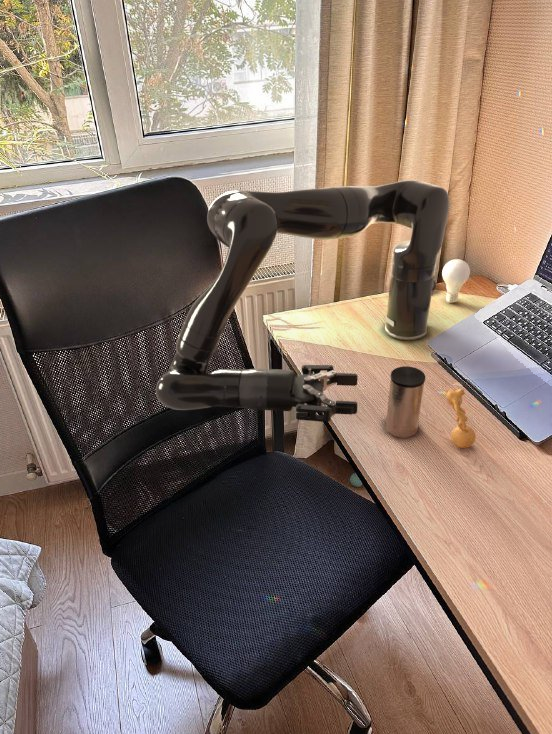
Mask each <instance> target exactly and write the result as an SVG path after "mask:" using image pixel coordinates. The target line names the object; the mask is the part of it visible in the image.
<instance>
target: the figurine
mask: <svg viewBox="0 0 552 734" xmlns="http://www.w3.org/2000/svg"><path fill="white" fill-rule="evenodd" d="M465 393H466V392H465V390H464V389H463V388H458V389H456V390H454V389H453V388H449V391H448V392H447V393H446V395H445V398H446V401H447V403H448V404H449V406H451V409H452V410H453V411H454V412H455V415H456V419H455V420H456V423H457V426H456V427H454V428H453V430H452V431H451V434H450V435H451V437H450V438H451V441H452V443H453V444H454V445H455V446H456V447H458V448H461V449H465V448H469V447H471V446H472V445H474V444H475V441H476V437H477V435H476V431H475V430H474V428H472V427H471V426H470V425H467V423H466V422H467V421H468V416H466V410H465V409H464V408H463V407H461V405H462V403H463V396H464V395H465Z"/></svg>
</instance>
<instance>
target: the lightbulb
mask: <svg viewBox="0 0 552 734" xmlns="http://www.w3.org/2000/svg"><path fill="white" fill-rule="evenodd" d="M470 275H471V268H470V266H469V264H468V263H467V262H466V261H465V260H463V259H460V258H459V259H458V258H454V259H451V260H449V261H447V262H446V263H445V265H444V266H443V268H442V272H441V277H442V279H443V281H444V283H445V287H446V289H445V290H446V296H445V301H447V302H448V303H450V304H453V303H456V302H457V301H458V297H459V292H460V291H461V289H462V287H463V285H464V284H465V283H466V282H468V280H469V279H470Z"/></svg>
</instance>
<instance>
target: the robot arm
mask: <svg viewBox="0 0 552 734" xmlns="http://www.w3.org/2000/svg"><path fill="white" fill-rule="evenodd" d="M449 213H450V196H449V192H448V191H447V190H446V189H445V188H443V187H441V186H439V185H435V184H432V183H428V182H425V181H422V180H418V179H405V180H400V181H396V182H391V183H386V184H382V185H375V186H373V185H372V186H371V185H343V186H329V187H328V186H327V187H320V188H309V189H308V188H307V189H298V190H291V191H280V192H279V191H277V192H276V191H275V192H273V191H272V192H271V191H254V190H242V189H241V190H240V189H239V190H238V189H237V190H230V191H227V192H225V193H223V194H221V195H220V196H218V197H217V198H216V199H215V200H214V201H212V203H211V205H210V206H209V208H208V211H207V215H206V222H207V226H208V228H209V231H210V232H211V234H212V235H213V236H214V237H215V238H216V240H218V241H219V242H220V243H221V244H223V245H224V246H225V247H227V249H228V250H227V253H226V255H225V259H224V263H223V265H222V268H221V269H220V272H219V273H218V275H217V276H216V278H215V279H214V280H213V282H212V283H211V284H210V285H209V286H208V287H207V288H206V289H205V290H204V291H203V292H202V293H201V294H200V295H199V297H197V299H196V300H195V301H194V302H193V303H192V304H191V307H190V308H189V310H188V312H187V314H186V316H185V318H184V321H183V323H182V326H181V329H180V331H179V333H178V337H177V339H176V343H175V354H174V356H173V360H172V362H171V363H170V366H169V368H168V370H167V371H166V372H165V373H163V375H161V377H160V378H159V379H158V381H157V383H156V385H155V395H156V397H157V399H158V401H159V402H160V404H162V405H163V406H165V407H166V408H168V409H171V410H174V411H175V410H176V411H191V410H193V411H194V410H201V409H208V408H214V407H222V408H239V409H240V408H241V409H248V410H253V411H271V412H272V411H273V412H274V411H275V412H292V411H293V408H295V419H296V420H299V421H308V422H319V423H320V422H322V423H331V418H332V417H334V416H335V415H356V414H357V413H358V402H357V401H356V400H355V401H354V400H353V401H352V400H333V399H331V398H328V397H327V395H326V394H325V393H324V392H325V391H326V390H327V389H328V388H329V387H332V386H334V385H336V386H344V387H345V386H348V387H356V386H357V385H358V380H359V379H358V378H359V377H358V374H356V373H350V372H347V373H345V372H337V371H336V370H335V369H334V367H335V366H334V365H332V364H302V365H301V373H300V375H295V372H294V370H292V369H278V368H277V369H276V368H275V369H274V368H249V369H239V368H237V369H236V368H219V369H216V370H213V371H211V372H209V373H207V372H208V367H209V365H210V360H211V359H212V358H213V355H214V353H215V351H216V348H217V347H218V344H219V341H220V339H221V336H222V335H223V332H224V330H225V327H226V324H227V323H228V321H229V319H230V316H231V314H232V312H233V311H234V309H235V308H236V306H237V303H238V302H239V300H240V299H241V297H242V296H243V294H244V293H245V291H246V289H247V288H248V286H249V285H250V283H251V281H252V279H253V278H254V276H255V275H256V273H257V272H258V269H259V268H260V266H261V265H262V263H263V262H264V260H265V259H266V257H267V256H268V253H269V252H270V250H271V248H272V247H273V244H274V242H275V240H276V238H277V235H278V234H279V235H287V236H294V237H299V238H304V239H311V240H321V241H322V240H324V241H325V240H326V241H328V240H339V239H345V238H352V237H355V236H357V235H359V234H361V233H363V232H364V231H365V230H366V229H367V228H368V227H370V226H371V225H374V224H395V225H399V226H402V227H404V228H407V229H409V230H411V236H410V239H409V240H404V241H400V242H398V243H397V244H395V246H393V249H392V254H391V265H390V266H391V267H390V275H389V276H390V277H389V286H388V287H389V288H388V298H387V309H386V315H384V316H385V317H384V322H385V325H384V331H385V333H386V335H388V336H389V337H391V338H393V339H396V340H400V341H416V340H420V339H422V338H424V337H425V336H426V335H427V332H428V323H429V317H430V309H431V302H432V296H433V292H434V291H435V290H436V287H437V284H436V281H435V273H436V266H437V260H438V256H439V253H440V251H441V248H442V247H443V242H444V237H445V234H446V233H445V232H446V227H447V223H448V218H449ZM325 371H326V372H325ZM317 413H321V414H317Z"/></svg>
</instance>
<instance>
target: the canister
mask: <svg viewBox="0 0 552 734" xmlns="http://www.w3.org/2000/svg"><path fill="white" fill-rule="evenodd" d="M389 378H390V383H389V392H388V399H387V401H388V402H387V410H386V411H387V412H386V418H385V419H386V420H385V430H386V431H387V433H388V434H389V435H391V436H393V437H396V438H399V439H400V438H401V439H407V438H410V437H412V436H415V435H416V434H417V432H418V427H419V426H418V425H419V419H420V413H421V407H422V399H423V394H424V393H423V392H424V386H425V382H426V374H425V372H423V370H421V369H420V368H417V367H414V366H406V365H405V366H399V367H396V368H394V369H393V370H392V371H391V372H390V377H389Z"/></svg>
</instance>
